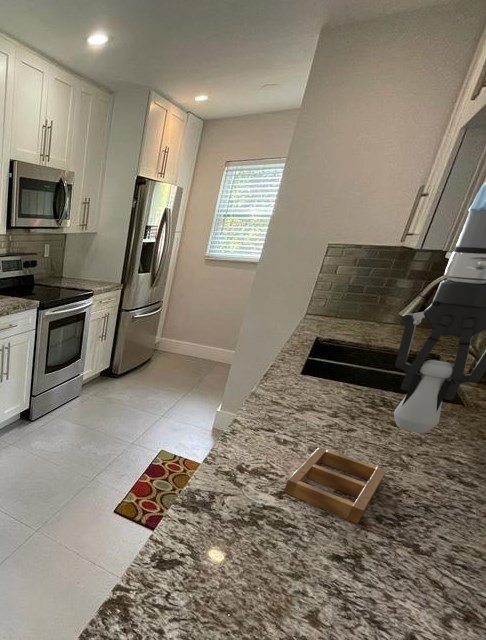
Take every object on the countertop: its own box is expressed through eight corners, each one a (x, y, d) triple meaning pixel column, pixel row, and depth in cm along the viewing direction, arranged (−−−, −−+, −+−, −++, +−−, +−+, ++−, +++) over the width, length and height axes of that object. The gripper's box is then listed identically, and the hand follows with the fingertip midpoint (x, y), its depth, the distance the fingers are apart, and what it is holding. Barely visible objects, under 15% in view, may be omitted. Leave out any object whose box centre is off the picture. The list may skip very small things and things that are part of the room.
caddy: (381, 481, 86) (386, 469, 85) (357, 524, 74) (363, 510, 73) (315, 457, 95) (319, 446, 94) (283, 492, 82) (287, 479, 81)
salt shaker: (424, 438, 73) (455, 369, 68) (383, 424, 78) (410, 359, 73) (439, 431, 75) (470, 365, 71) (398, 419, 80) (425, 355, 75)
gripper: (404, 277, 70) (357, 401, 79) (557, 288, 59) (483, 433, 67) (410, 274, 75) (365, 392, 83) (554, 284, 63) (485, 420, 72)
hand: (418, 410), depth 75 cm, fingers closed on salt shaker, 3 cm apart
